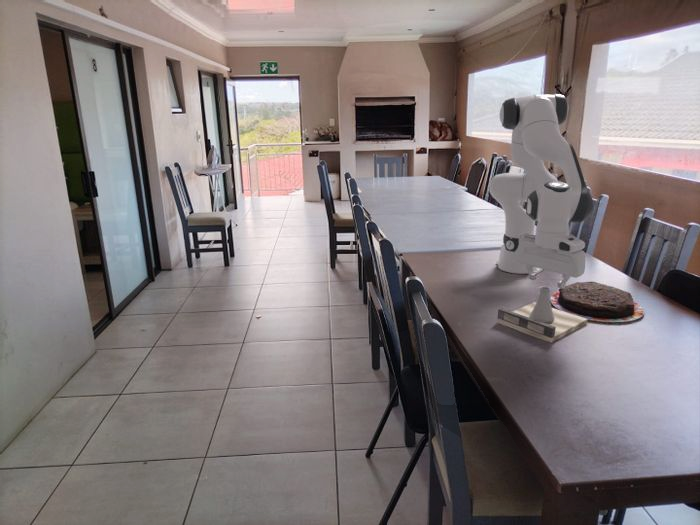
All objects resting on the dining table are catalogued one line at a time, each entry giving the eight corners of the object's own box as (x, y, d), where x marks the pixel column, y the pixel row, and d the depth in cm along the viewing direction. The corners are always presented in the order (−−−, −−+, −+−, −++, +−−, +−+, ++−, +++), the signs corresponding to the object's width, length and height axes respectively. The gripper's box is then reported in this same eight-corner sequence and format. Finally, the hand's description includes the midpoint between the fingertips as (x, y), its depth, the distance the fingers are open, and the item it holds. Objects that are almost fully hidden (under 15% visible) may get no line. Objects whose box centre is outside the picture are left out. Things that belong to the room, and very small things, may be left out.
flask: (553, 315, 149) (557, 285, 146) (555, 324, 142) (559, 293, 139) (529, 312, 151) (532, 283, 148) (529, 322, 144) (532, 291, 141)
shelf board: (533, 306, 159) (535, 293, 158) (586, 323, 146) (588, 310, 144) (496, 322, 148) (497, 309, 146) (550, 343, 134) (552, 328, 133)
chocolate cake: (605, 333, 140) (609, 312, 138) (531, 302, 164) (533, 284, 162) (663, 313, 153) (666, 294, 151) (586, 287, 176) (588, 270, 174)
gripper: (513, 234, 145) (510, 276, 149) (579, 248, 129) (573, 295, 134) (525, 230, 149) (521, 272, 153) (591, 244, 133) (584, 290, 138)
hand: (546, 283), depth 143 cm, fingers open, 8 cm apart
